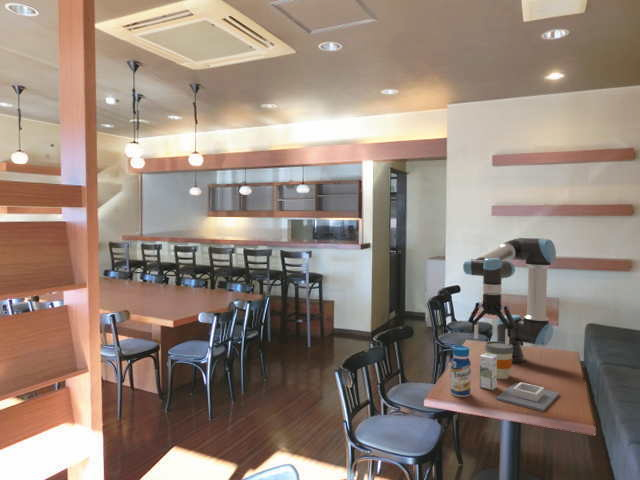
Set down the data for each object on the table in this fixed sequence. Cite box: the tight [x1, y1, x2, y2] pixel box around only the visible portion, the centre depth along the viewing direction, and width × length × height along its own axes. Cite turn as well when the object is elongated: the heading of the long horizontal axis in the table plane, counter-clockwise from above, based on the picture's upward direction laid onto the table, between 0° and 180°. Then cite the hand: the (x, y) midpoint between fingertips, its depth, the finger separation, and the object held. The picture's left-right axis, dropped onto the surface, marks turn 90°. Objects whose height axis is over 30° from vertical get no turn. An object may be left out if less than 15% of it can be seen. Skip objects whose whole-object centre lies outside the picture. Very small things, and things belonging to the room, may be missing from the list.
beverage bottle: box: [449, 345, 472, 398], centre depth 192 cm, size 8×8×20 cm
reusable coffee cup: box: [484, 340, 513, 380], centre depth 213 cm, size 13×12×15 cm
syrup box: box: [479, 352, 498, 391], centre depth 199 cm, size 6×6×14 cm
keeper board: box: [496, 381, 560, 413], centre depth 188 cm, size 22×18×4 cm
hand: (491, 341), depth 198 cm, fingers open, 13 cm apart
